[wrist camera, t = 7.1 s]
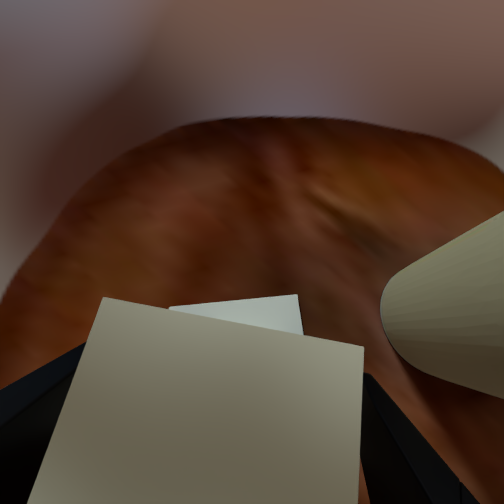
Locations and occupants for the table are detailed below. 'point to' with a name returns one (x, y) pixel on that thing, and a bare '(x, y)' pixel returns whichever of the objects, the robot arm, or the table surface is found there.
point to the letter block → (204, 415)
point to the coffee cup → (453, 310)
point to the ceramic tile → (253, 312)
